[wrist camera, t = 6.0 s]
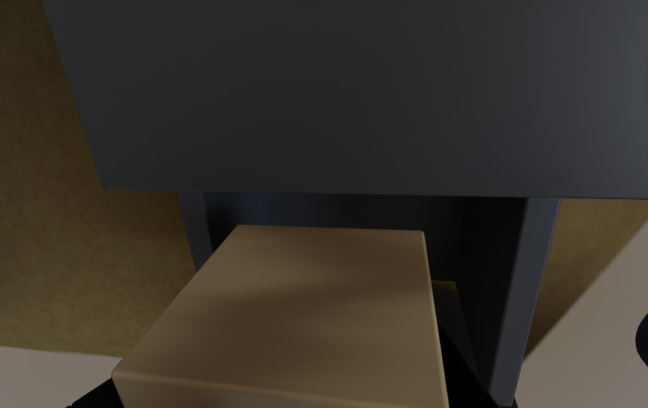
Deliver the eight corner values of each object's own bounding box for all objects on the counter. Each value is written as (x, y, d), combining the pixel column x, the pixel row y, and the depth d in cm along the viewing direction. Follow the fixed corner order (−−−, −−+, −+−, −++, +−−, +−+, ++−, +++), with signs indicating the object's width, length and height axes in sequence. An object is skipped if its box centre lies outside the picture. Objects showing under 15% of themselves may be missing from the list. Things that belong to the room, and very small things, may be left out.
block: (424, 229, 8) (451, 416, 4) (415, 372, 10) (428, 602, 6) (237, 222, 9) (106, 373, 5) (260, 356, 11) (179, 546, 7)
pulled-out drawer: (467, 368, 21) (504, 534, 14) (279, 349, 23) (229, 485, 16) (520, 27, 14) (655, 16, 7) (236, 44, 16) (109, 49, 9)
